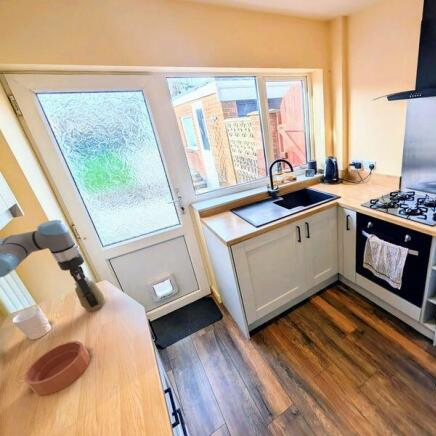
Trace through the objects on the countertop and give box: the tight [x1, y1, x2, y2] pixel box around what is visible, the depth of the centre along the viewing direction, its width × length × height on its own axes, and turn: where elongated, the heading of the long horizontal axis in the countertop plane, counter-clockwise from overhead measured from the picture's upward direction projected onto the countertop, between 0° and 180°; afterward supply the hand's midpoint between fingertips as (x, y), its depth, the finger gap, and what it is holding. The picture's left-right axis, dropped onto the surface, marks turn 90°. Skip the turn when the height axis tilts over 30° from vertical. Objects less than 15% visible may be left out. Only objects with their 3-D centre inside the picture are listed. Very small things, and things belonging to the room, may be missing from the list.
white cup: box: [12, 306, 52, 340], centre depth 96 cm, size 8×8×10 cm
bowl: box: [24, 340, 91, 396], centre depth 80 cm, size 14×14×6 cm
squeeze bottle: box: [74, 276, 105, 312], centre depth 105 cm, size 8×8×18 cm
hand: (93, 300), depth 107 cm, fingers closed on squeeze bottle, 8 cm apart
